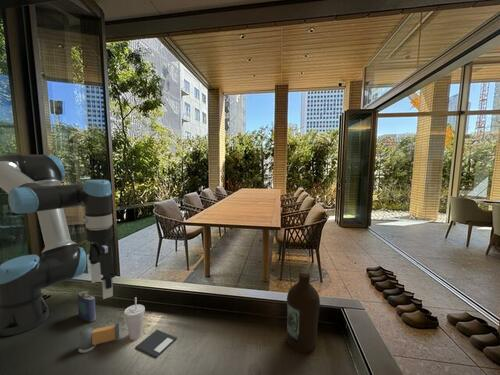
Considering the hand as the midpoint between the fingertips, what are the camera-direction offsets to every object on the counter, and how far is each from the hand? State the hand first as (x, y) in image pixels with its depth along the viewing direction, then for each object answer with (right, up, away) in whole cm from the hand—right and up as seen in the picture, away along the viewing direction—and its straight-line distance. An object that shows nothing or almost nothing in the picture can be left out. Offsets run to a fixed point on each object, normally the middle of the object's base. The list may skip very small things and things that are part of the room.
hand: (101, 288), depth 83 cm
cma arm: (+1, -16, -3) cm, 17 cm away
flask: (-12, -15, +10) cm, 22 cm away
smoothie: (+11, -17, +1) cm, 20 cm away
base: (-2, -17, -4) cm, 18 cm away
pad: (+19, -17, -2) cm, 26 cm away
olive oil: (+67, -18, 0) cm, 70 cm away
